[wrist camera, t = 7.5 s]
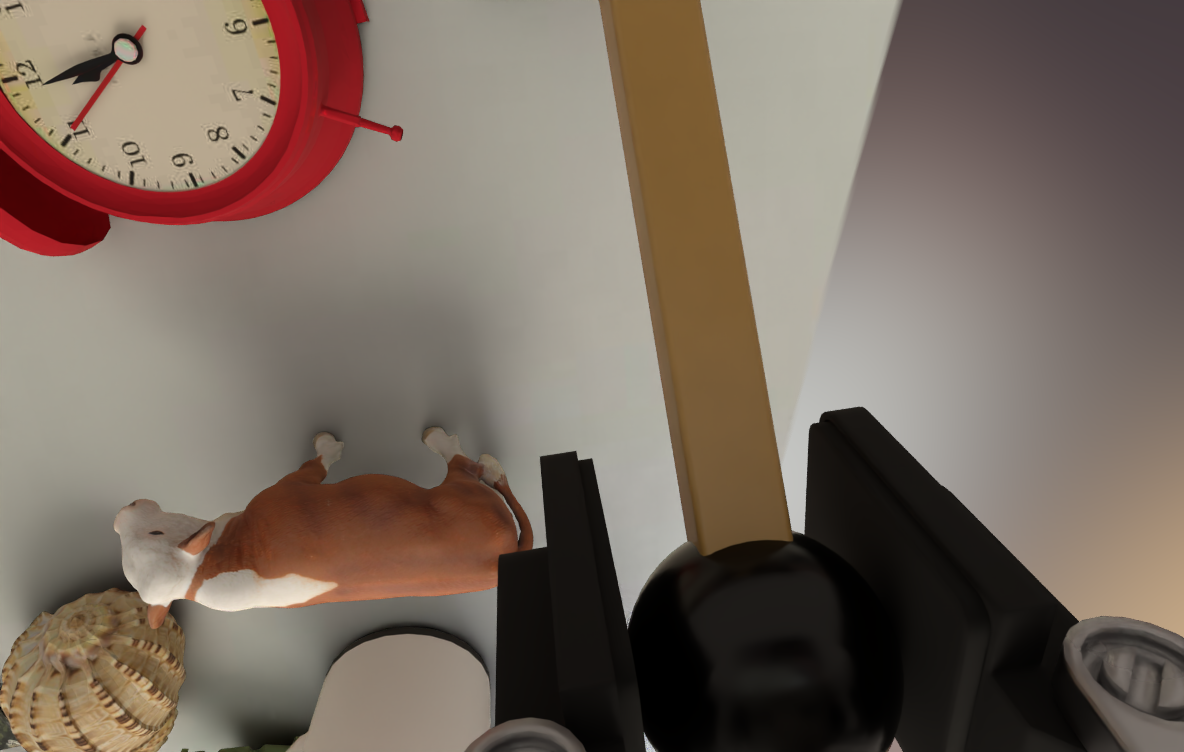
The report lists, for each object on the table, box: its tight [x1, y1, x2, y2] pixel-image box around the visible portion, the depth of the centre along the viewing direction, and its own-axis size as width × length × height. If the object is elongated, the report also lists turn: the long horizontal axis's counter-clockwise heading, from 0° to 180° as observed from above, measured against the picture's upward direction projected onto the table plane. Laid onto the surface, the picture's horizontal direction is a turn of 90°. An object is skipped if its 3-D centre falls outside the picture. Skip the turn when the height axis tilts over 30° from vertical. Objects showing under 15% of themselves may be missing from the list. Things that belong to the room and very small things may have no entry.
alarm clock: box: [0, 0, 403, 256], centre depth 19 cm, size 10×6×15 cm
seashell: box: [0, 588, 186, 752], centre depth 29 cm, size 8×6×10 cm
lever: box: [599, 0, 904, 752], centre depth 8 cm, size 17×3×3 cm, turn 7°
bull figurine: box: [113, 427, 533, 629], centre depth 24 cm, size 4×13×8 cm, turn 82°
